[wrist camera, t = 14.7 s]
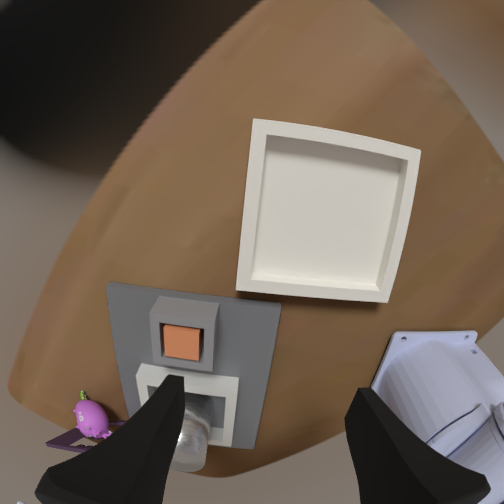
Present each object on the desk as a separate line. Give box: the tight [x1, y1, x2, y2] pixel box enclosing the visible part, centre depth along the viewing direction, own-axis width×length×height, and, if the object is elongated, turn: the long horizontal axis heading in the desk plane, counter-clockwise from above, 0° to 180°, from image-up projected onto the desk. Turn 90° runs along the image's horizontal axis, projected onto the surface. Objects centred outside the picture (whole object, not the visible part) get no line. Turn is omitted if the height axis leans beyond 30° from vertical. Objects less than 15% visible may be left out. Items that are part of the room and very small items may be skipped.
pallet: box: [106, 282, 281, 449], centre depth 22 cm, size 12×16×3 cm
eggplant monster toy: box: [46, 391, 127, 453], centre depth 22 cm, size 7×5×9 cm
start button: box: [164, 323, 203, 361], centre depth 19 cm, size 2×2×2 cm
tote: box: [236, 119, 421, 303], centre depth 18 cm, size 10×10×1 cm
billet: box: [169, 392, 214, 472], centre depth 20 cm, size 4×4×6 cm
